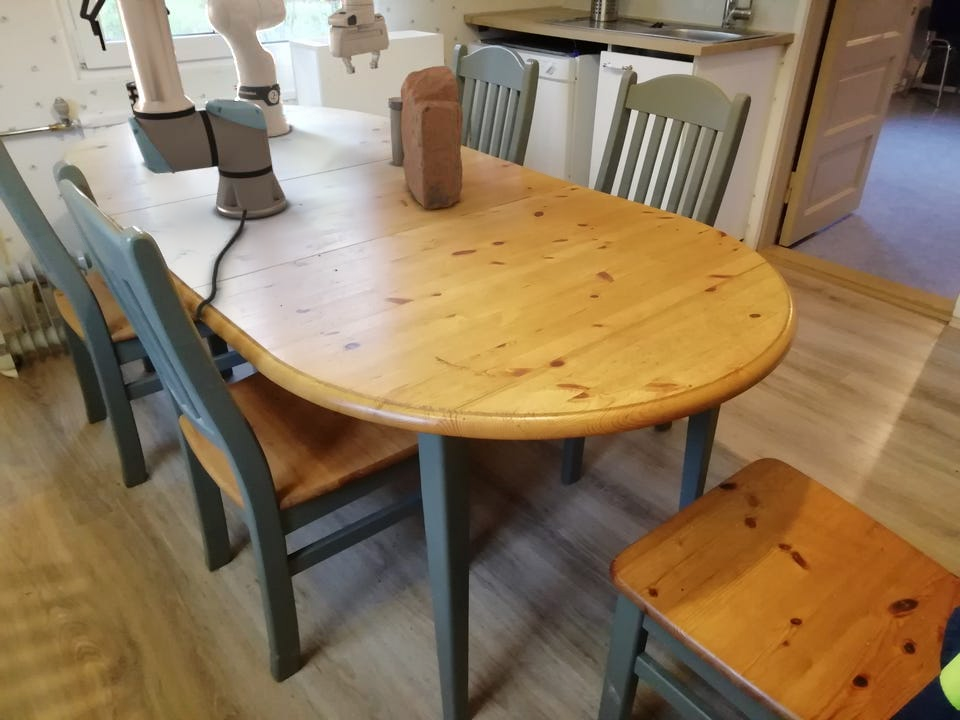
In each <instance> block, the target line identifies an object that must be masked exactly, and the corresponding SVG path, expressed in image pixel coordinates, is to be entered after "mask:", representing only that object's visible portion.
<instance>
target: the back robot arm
mask: <svg viewBox="0 0 960 720" xmlns="http://www.w3.org/2000/svg"><path fill="white" fill-rule="evenodd" d="M320 1H321V2H336V1H337V0H320ZM339 4H340V8H338V9H337V10H335V12H333V13H332V14H330V15H329V16H328V17H327V24H328V26H330V27H329V29H328V43H329V52H330V54H331V56H332V57H333V58H338V59H341V61H342V62H343V64H344V66H345V67H346V73H347V74H348V75H353V74H356V66H353V64H352V62H351V61H352V59H353V58H352V57H354V56H359V55H363V54H369V53H370V54H371V55H372V57H371V61H369V68H370V69H371V70H375V69H378V68H379V60H380V58H381V51H384V50H385V51H386V50H388V49H389V47H390V40H389V39H390V38H389V33H388V32H389V31H388V28H387V23H386V19H385V17H384V16H383V14H381V13H380V12H378V13H375V2H374V0H339ZM205 16H206V20H207V22H208V24H209V25H210V28H212V30H213V31H214V32H215V33H217V34H219V35H220V36H221V37H222V38H223V40H224V41H225V42H226V44H227V45H228V47H229V48H230V51H231V54H232V56H233V59H234V63H235V68H236V73H237V78H238V79H237V80H238V84H236V85H233V87H235V88H234V90H235V91H237V92H236V96H237V97H235V99H234V100H239V101H245V102H250V103H253V104H256V105H257V106H259V107H260V108H261V109H262V110H263V112H264V116H265V121H266V125H267V127H268V129H267V133H268V138H269V137H270V138H271V137H277V136H281V135H284V134H287V133H288V132H290V130H291V129H290V127H291V124H290V122H289V121H288V118H287V114H286V111H287V107H286V105H284V102H283V99H281V95H282V94H281V86H280V82H279V81H278V77H277V69H276V62H275V57H274V54H273V53H272V52H271V51H270V50H269V49H268V48H265V47H264V46H263V45H262V43H261V41H260V39H259V35H258V33H259V32H265V31H271V30H273V29H275V28H277V27H280V26H282V25H283V23H284V22H285V20H286V18H287V6H286V3H285V0H207V1H206V4H205ZM218 99H219V98H214V99H213V100H218Z"/></svg>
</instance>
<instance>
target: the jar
mask: <svg viewBox="0 0 960 720" xmlns="http://www.w3.org/2000/svg"><path fill="white" fill-rule="evenodd" d="M389 121H390V122H389V123H390V140H391V142H390V143H391V157H392V165H394V166H397V167H404V163H403V160H404V157H405V154H404V151H403V144H402V131H401V124H402V110H394V109H390V108H389Z"/></svg>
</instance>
